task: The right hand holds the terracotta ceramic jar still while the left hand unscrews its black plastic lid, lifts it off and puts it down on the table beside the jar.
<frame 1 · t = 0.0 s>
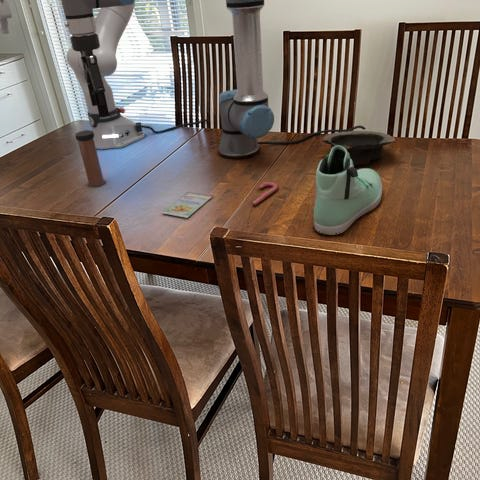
left hand: (0, 32, 160), 48 cm above the table, tool pointing down, fingers open, 8 cm apart
right hand: (100, 110, 144), 28 cm above the table, tool pointing down, fingers open, 13 cm apart
candy cane: (263, 195, 150), on the table
lid: (84, 134, 158), point 18 cm above the table, screwed on, not yet turned
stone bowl: (356, 157, 171), on the table
baking ingredient package: (187, 205, 148), on the table
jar: (96, 183, 167), on the table
sneaker: (348, 208, 139), on the table
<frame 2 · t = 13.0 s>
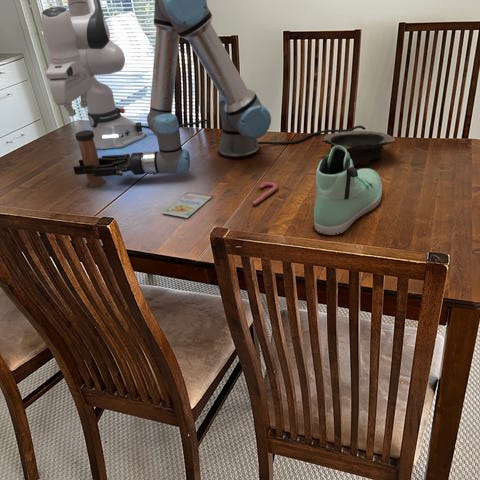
left hand: (78, 111, 154), 25 cm above the table, tool pointing down, fingers open, 8 cm apart
right hand: (77, 167, 164), 7 cm above the table, tool horizontal, fingers closed on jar, 5 cm apart
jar: (96, 183, 167), on the table, touching right hand
everything else where it was.
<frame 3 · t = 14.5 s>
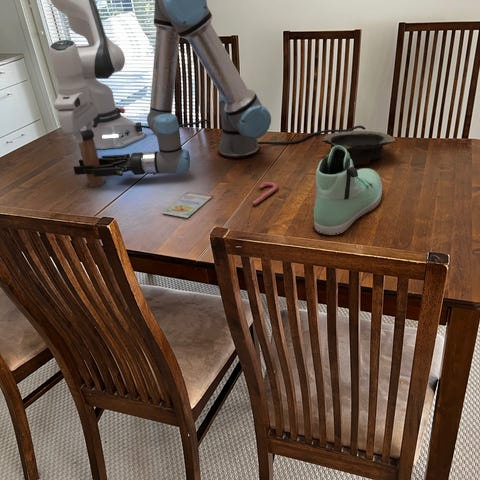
left hand: (85, 138, 159), 16 cm above the table, tool pointing down, fingers closed on lid, 6 cm apart
right hand: (77, 167, 164), 6 cm above the table, tool horizontal, fingers closed on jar, 5 cm apart
lid: (84, 134, 158), point 18 cm above the table, screwed on, not yet turned, touching left hand
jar: (96, 183, 167), on the table, touching right hand
everything else where it was.
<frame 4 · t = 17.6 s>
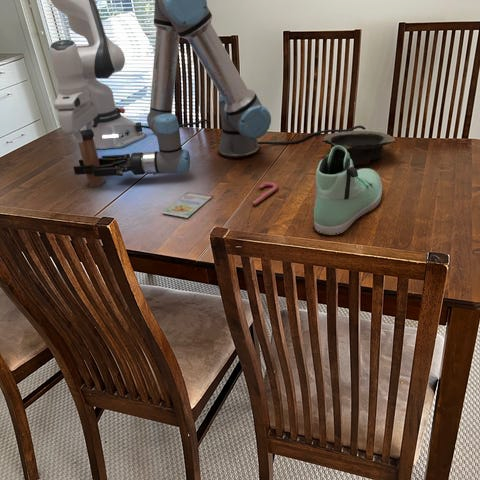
left hand: (85, 138, 159), 16 cm above the table, tool pointing down, fingers closed on lid, 6 cm apart
right hand: (77, 167, 164), 6 cm above the table, tool horizontal, fingers closed on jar, 5 cm apart
lid: (84, 133, 158), point 18 cm above the table, turned 80° so far, risen 0.1 cm, still on its thread, touching left hand
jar: (96, 183, 167), on the table, touching right hand
everything else where it was.
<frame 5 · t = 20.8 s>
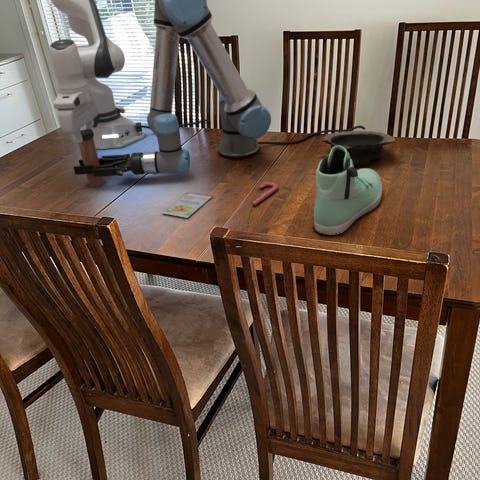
left hand: (85, 137, 158), 17 cm above the table, tool pointing down, fingers closed on lid, 5 cm apart
right hand: (77, 167, 164), 6 cm above the table, tool horizontal, fingers closed on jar, 5 cm apart
lid: (84, 133, 158), point 18 cm above the table, turned 160° so far, risen 0.3 cm, still on its thread, touching left hand
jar: (96, 183, 167), on the table, touching right hand
everything else where it was.
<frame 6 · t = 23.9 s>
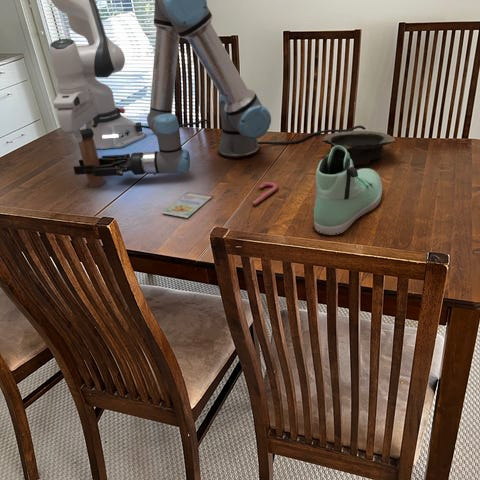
left hand: (85, 137, 158), 17 cm above the table, tool pointing down, fingers closed on lid, 5 cm apart
right hand: (77, 167, 164), 6 cm above the table, tool horizontal, fingers closed on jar, 5 cm apart
lid: (84, 132, 158), point 18 cm above the table, turned 241° so far, risen 0.4 cm, still on its thread, touching left hand
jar: (96, 183, 167), on the table, touching right hand
everything else where it was.
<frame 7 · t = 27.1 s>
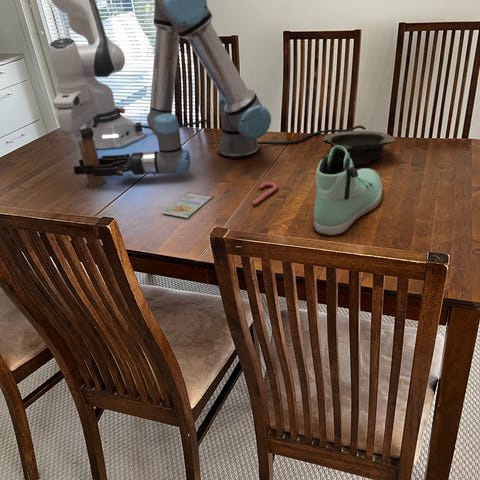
left hand: (85, 137, 158), 17 cm above the table, tool pointing down, fingers closed on lid, 5 cm apart
right hand: (77, 167, 164), 6 cm above the table, tool horizontal, fingers closed on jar, 5 cm apart
lid: (83, 132, 158), point 18 cm above the table, turned 321° so far, risen 0.6 cm, still on its thread, touching left hand
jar: (96, 183, 167), on the table, touching right hand
everything else where it was.
when the left hand's fingers open (2 cm above the table, at t = 35.7 s): lid drops 2 cm, point 1 cm above the table.
when the right hand's fingers open (6 cm above the table, at t = 36.5 s): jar stays where it is, on the table.
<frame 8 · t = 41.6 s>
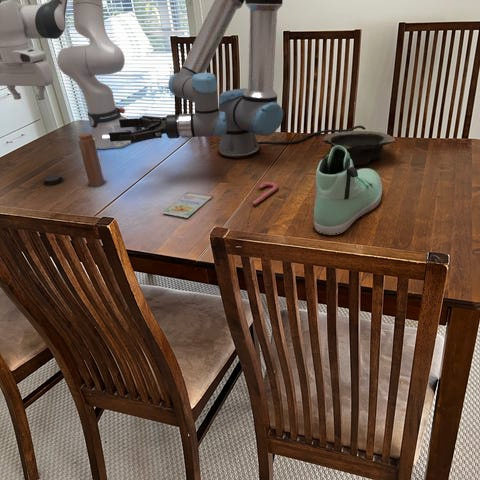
left hand: (29, 99, 156), 29 cm above the table, tool pointing down, fingers open, 8 cm apart
right hand: (114, 130, 157), 19 cm above the table, tool horizontal, fingers open, 13 cm apart
lid: (52, 178, 171), point 1 cm above the table, off its thread
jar: (96, 183, 167), on the table
everything else where it was.
at the end: lid came off its thread; lid point 1.3 cm above the table; the left hand is holding nothing; the right hand is holding nothing; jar tilted 0°; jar moved 0.1 cm from its start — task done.
